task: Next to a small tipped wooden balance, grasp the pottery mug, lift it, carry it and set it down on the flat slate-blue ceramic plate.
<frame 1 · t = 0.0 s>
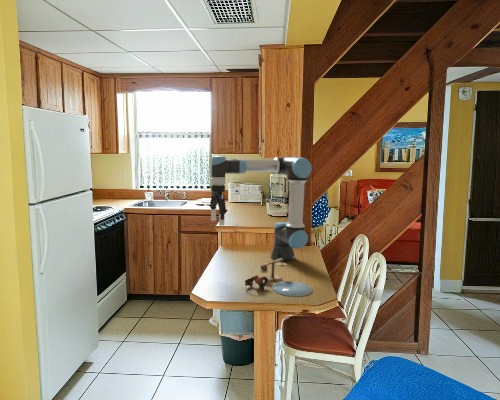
hand: (217, 223, 225), 28 cm above the counter, fingers open, 13 cm apart
pottery mug: (256, 289, 204), on the counter
balance: (272, 279, 219), on the counter
plate: (292, 289, 206), on the counter
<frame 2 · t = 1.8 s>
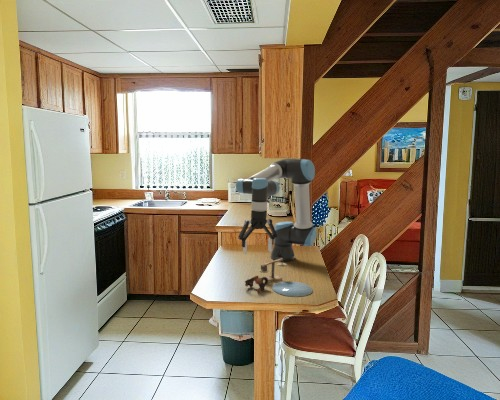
hand: (257, 252, 202), 19 cm above the counter, fingers open, 13 cm apart
nothing on the counter moved.
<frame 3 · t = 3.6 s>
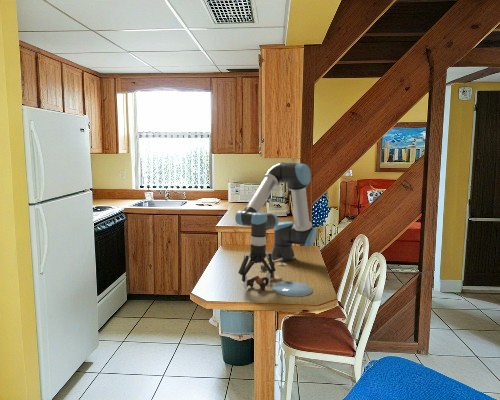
hand: (256, 286, 204), 1 cm above the counter, fingers closed on pottery mug, 12 cm apart
pottery mug: (257, 290, 203), on the counter, touching gripper
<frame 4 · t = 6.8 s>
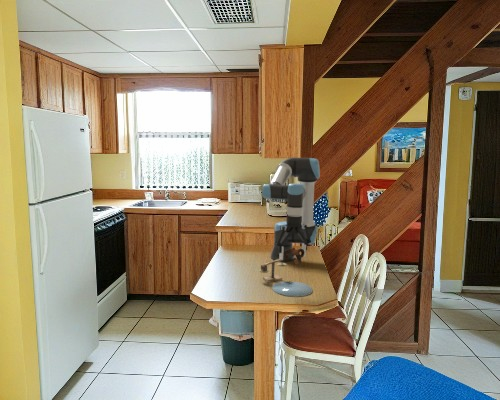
hand: (292, 258, 203), 16 cm above the counter, fingers closed on pottery mug, 12 cm apart
pottery mug: (293, 261, 203), point 14 cm above the counter, touching gripper
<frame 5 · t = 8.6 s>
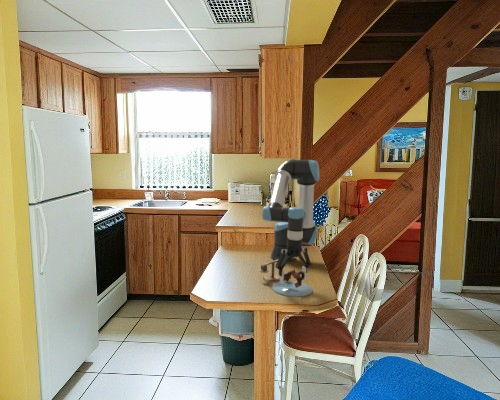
hand: (292, 280, 205), 4 cm above the counter, fingers closed on pottery mug, 12 cm apart
pottery mug: (293, 284, 204), point 3 cm above the counter, touching gripper
when the fingers open (2 cm above the counter, at t = 9.9 s): pottery mug stays where it is, resting on plate.
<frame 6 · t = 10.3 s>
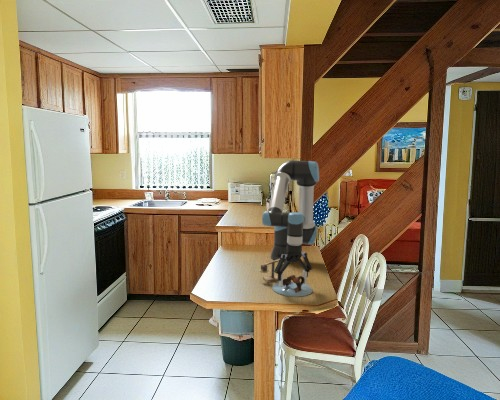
hand: (292, 285, 205), 2 cm above the counter, fingers open, 13 cm apart
pottery mug: (293, 289, 205), resting on plate
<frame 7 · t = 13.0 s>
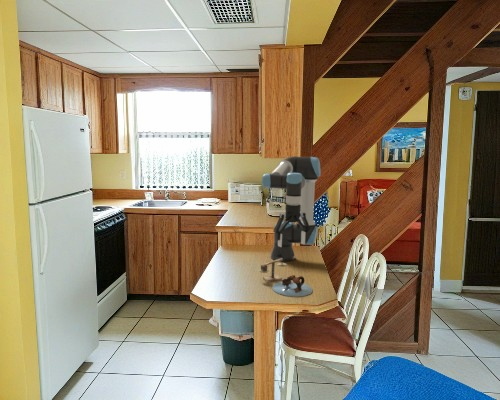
hand: (291, 245, 208), 21 cm above the counter, fingers open, 13 cm apart
nothing on the counter moved.
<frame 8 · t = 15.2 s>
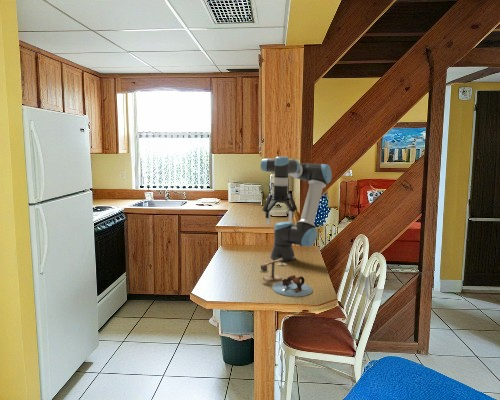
hand: (279, 223, 225), 29 cm above the counter, fingers open, 13 cm apart
nothing on the counter moved.
at the end: pottery mug inside the target area on the plate (1.6 cm from its centre), point 0.3 cm above the plate's base; pottery mug tilted 1°; the gripper is holding nothing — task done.
